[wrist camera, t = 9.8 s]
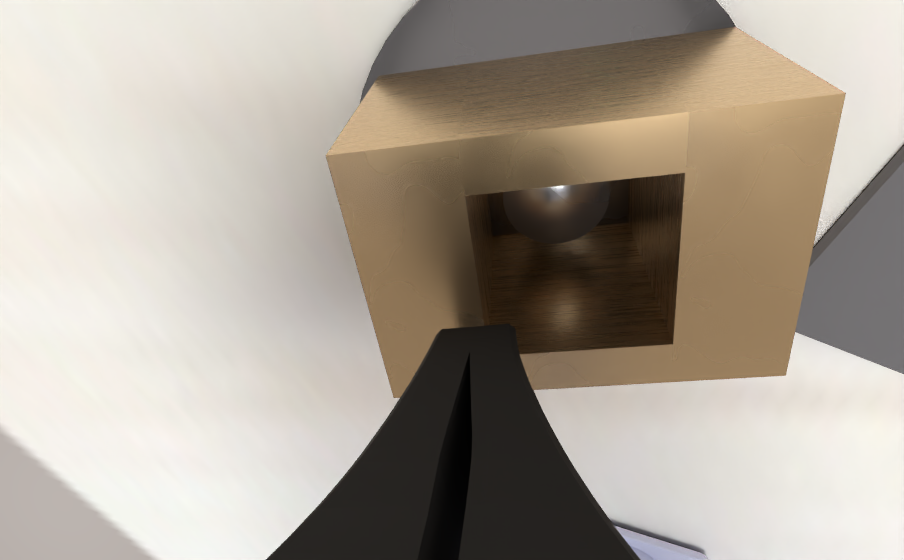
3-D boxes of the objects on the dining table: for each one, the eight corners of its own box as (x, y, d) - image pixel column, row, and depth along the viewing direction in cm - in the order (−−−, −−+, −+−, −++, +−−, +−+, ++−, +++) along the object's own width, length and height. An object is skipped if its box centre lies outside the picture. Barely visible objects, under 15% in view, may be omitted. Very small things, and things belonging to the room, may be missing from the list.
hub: (619, 348, 19) (633, 407, 17) (320, 239, 18) (294, 288, 15) (842, 46, 14) (906, 76, 11) (438, -148, 12) (425, -155, 10)
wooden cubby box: (711, 247, 16) (785, 375, 12) (420, 273, 17) (393, 397, 13) (734, 26, 13) (846, 92, 9) (378, 75, 14) (325, 155, 10)
